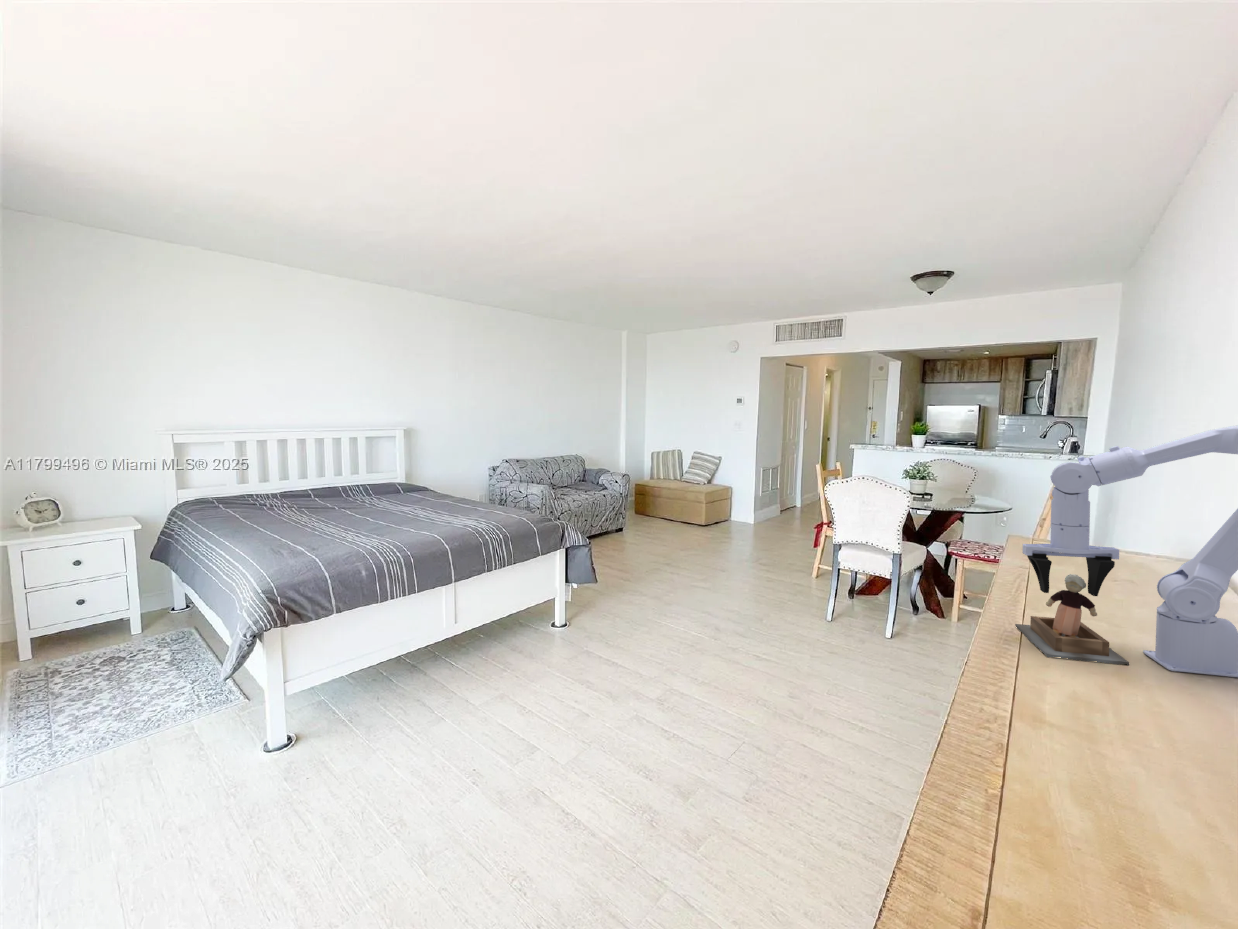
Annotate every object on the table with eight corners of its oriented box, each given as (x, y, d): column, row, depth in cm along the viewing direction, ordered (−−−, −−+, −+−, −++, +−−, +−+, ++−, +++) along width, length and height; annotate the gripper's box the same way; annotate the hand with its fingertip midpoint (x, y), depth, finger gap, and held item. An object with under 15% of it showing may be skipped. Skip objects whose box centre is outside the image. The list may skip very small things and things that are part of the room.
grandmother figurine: (1043, 633, 105) (1052, 571, 104) (1041, 629, 108) (1050, 568, 107) (1094, 645, 100) (1104, 581, 100) (1090, 640, 103) (1100, 577, 103)
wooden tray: (1084, 632, 108) (1085, 617, 108) (1128, 665, 93) (1129, 648, 93) (1015, 626, 112) (1015, 612, 112) (1046, 657, 97) (1047, 640, 97)
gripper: (1106, 521, 102) (1104, 589, 103) (1017, 519, 107) (1016, 584, 108) (1126, 528, 96) (1124, 601, 97) (1030, 525, 101) (1029, 594, 102)
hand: (1068, 593), depth 102 cm, fingers open, 7 cm apart
